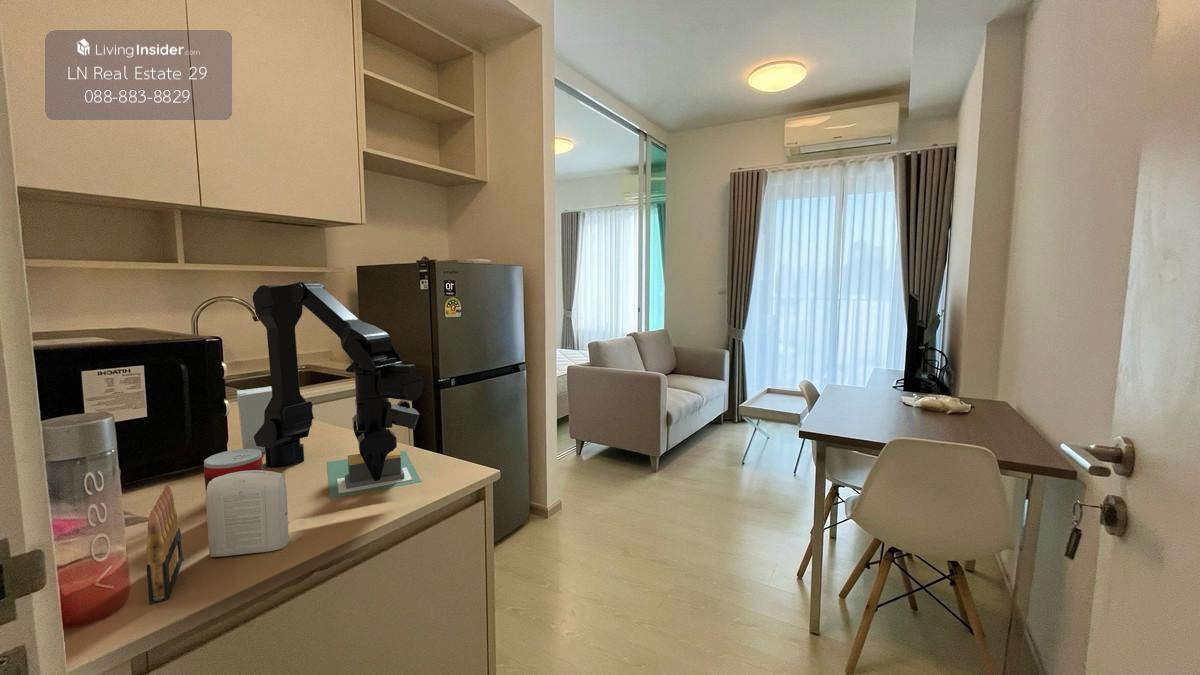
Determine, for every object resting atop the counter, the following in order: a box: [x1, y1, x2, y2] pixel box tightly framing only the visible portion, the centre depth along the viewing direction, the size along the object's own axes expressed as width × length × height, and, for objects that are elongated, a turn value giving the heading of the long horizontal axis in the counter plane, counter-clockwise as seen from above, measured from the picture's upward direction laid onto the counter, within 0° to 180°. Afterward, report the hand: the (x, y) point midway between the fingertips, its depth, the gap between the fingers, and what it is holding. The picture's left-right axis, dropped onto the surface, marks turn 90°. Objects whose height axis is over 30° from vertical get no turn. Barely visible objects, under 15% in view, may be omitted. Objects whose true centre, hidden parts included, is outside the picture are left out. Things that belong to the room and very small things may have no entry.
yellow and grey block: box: [347, 447, 401, 482], centre depth 96 cm, size 9×4×4 cm, turn 121°
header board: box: [326, 449, 422, 499], centre depth 101 cm, size 16×20×6 cm
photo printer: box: [205, 469, 290, 558], centre depth 74 cm, size 10×4×12 cm, turn 107°
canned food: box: [203, 448, 264, 491], centre depth 83 cm, size 8×8×11 cm
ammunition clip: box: [146, 484, 184, 605], centre depth 66 cm, size 11×2×12 cm, turn 33°
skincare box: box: [236, 385, 272, 454], centre depth 115 cm, size 8×6×15 cm
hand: (374, 471), depth 96 cm, fingers open, 9 cm apart
